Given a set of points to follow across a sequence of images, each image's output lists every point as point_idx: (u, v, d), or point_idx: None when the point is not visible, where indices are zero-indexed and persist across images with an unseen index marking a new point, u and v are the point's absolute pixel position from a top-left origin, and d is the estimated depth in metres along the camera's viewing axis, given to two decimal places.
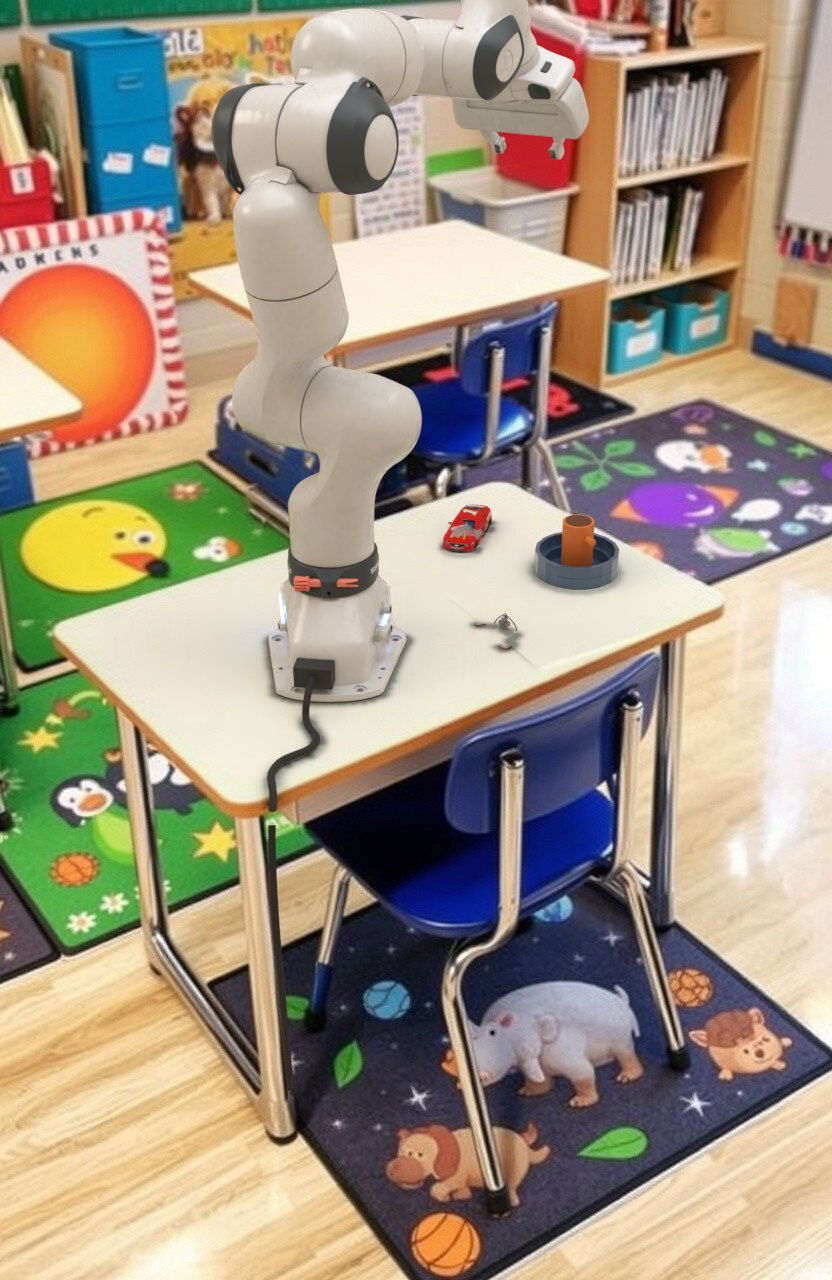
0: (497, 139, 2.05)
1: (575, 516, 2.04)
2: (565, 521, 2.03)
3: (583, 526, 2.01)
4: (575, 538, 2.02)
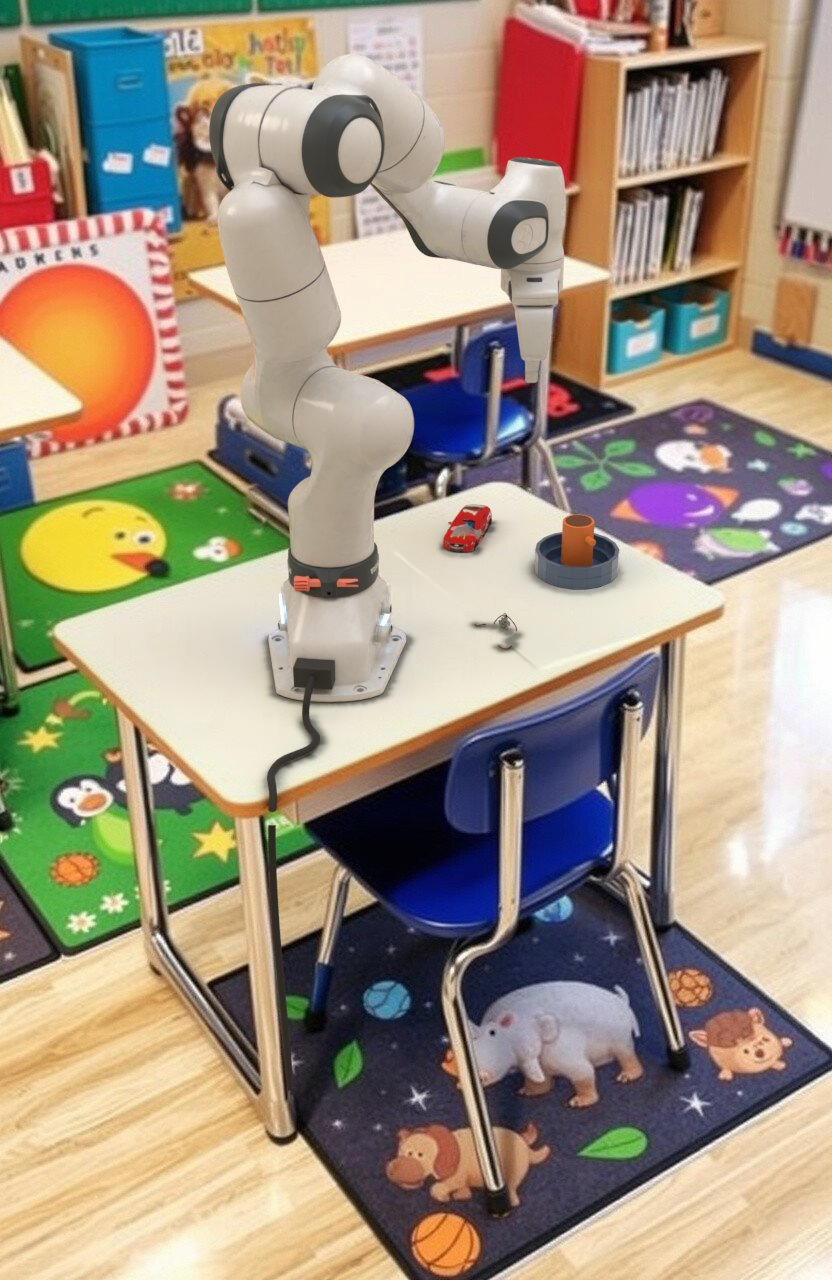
0: None
1: (575, 516, 2.04)
2: (565, 521, 2.03)
3: (583, 526, 2.01)
4: (575, 538, 2.02)
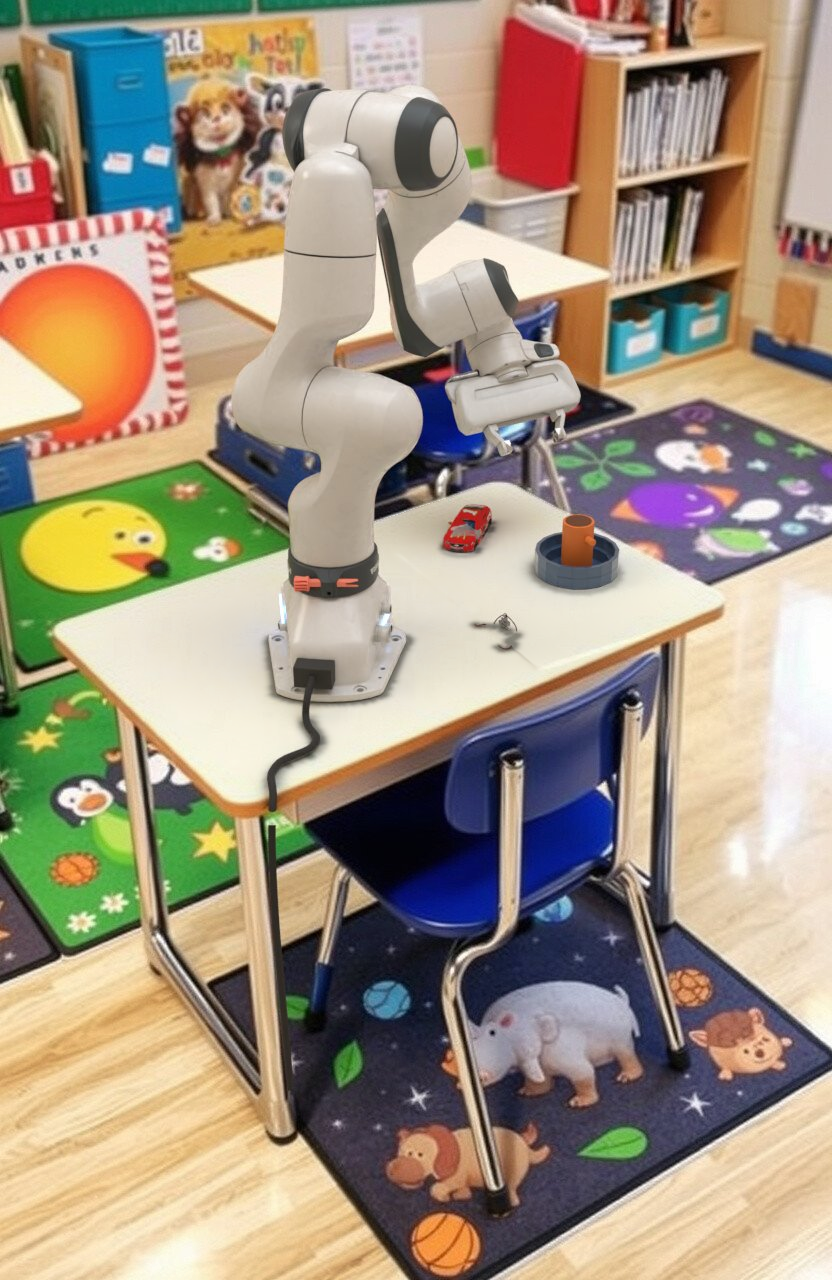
0: None
1: (575, 516, 2.04)
2: (565, 521, 2.03)
3: (583, 526, 2.01)
4: (575, 538, 2.02)
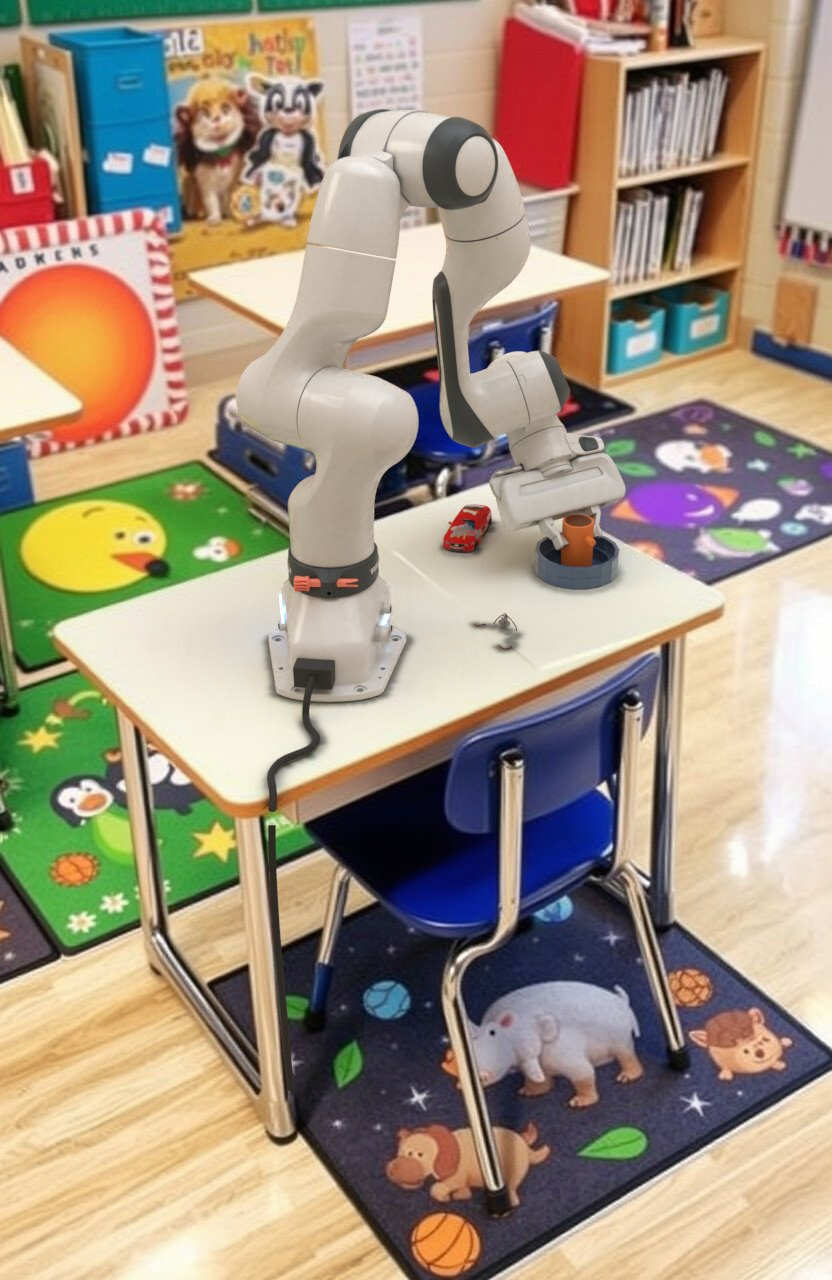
0: None
1: (575, 516, 2.04)
2: (565, 521, 2.03)
3: (583, 526, 2.01)
4: (575, 538, 2.02)
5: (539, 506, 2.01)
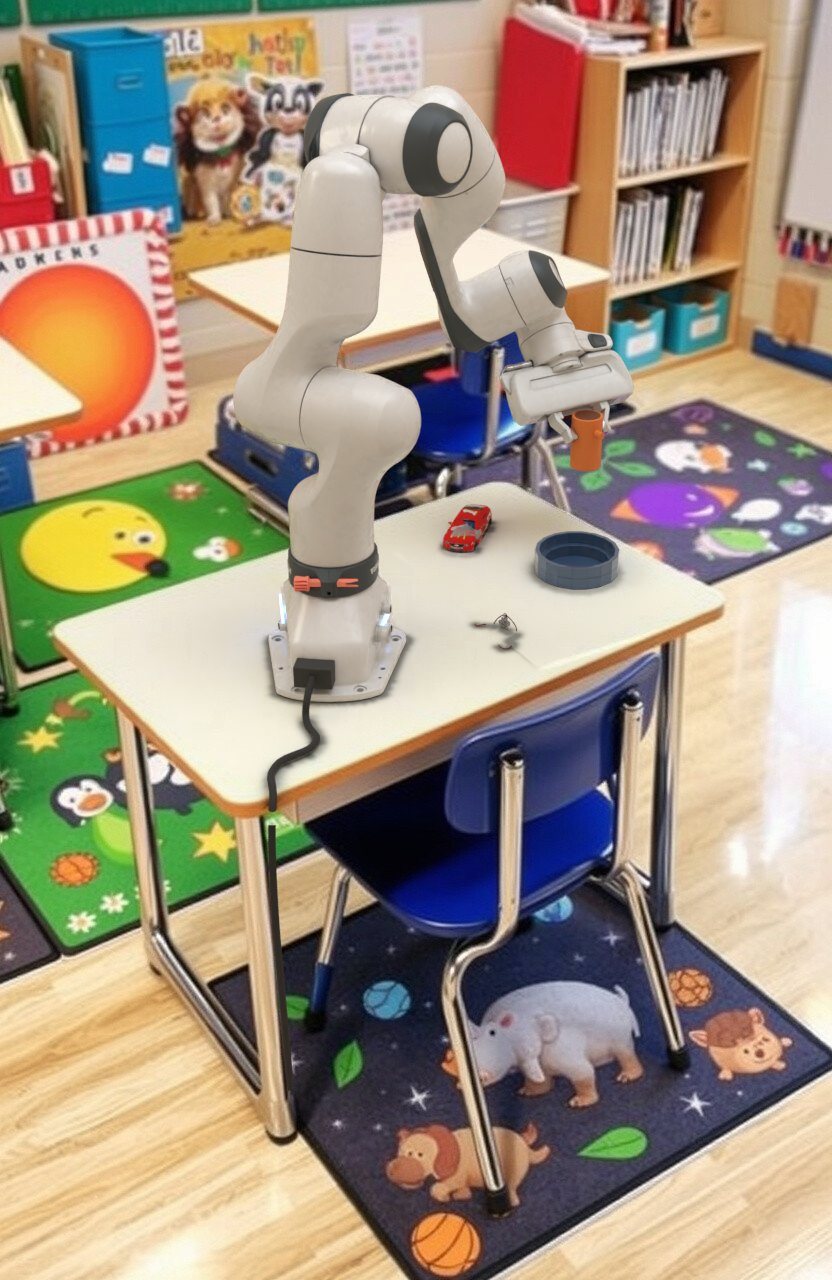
0: None
1: (584, 411, 2.07)
2: (574, 415, 2.05)
3: (592, 420, 2.04)
4: (585, 432, 2.05)
5: (549, 400, 2.04)
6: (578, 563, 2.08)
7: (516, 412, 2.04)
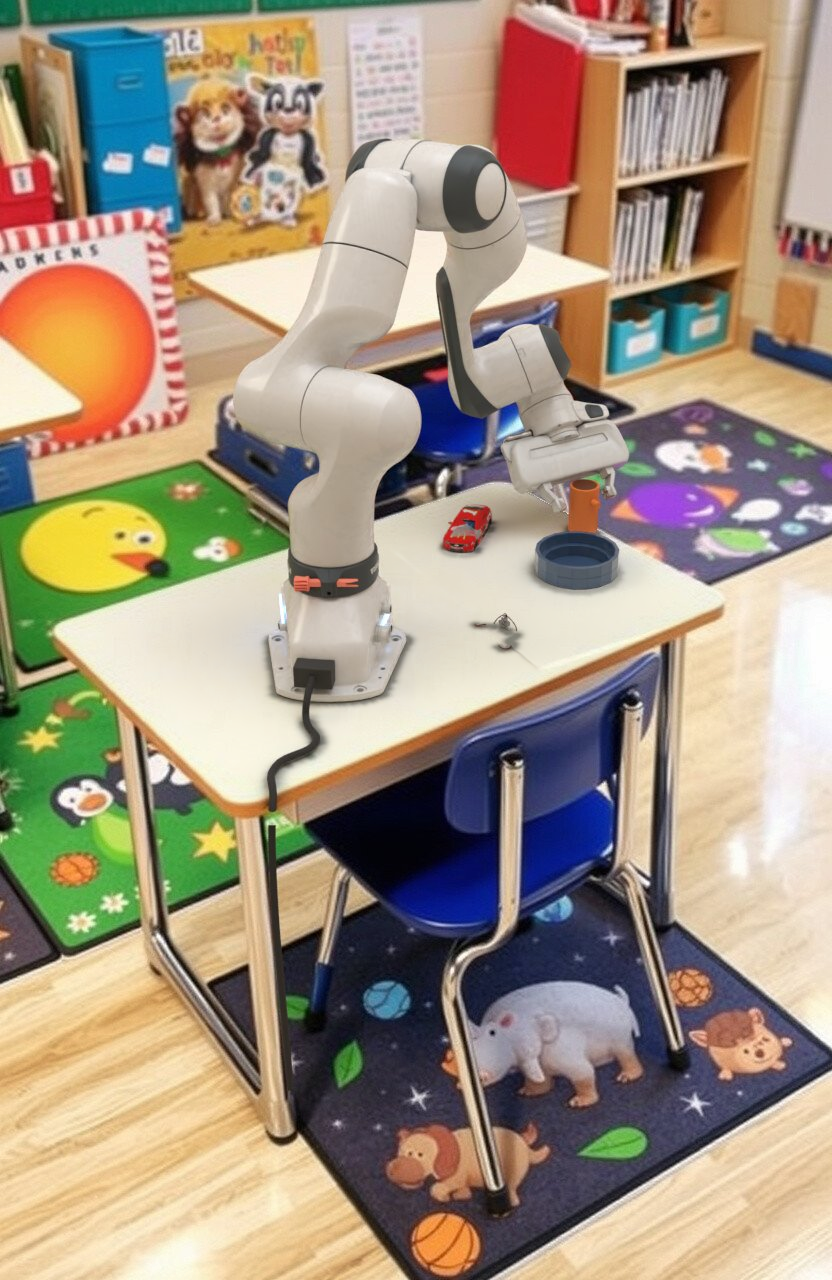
0: None
1: (581, 480, 2.16)
2: (572, 485, 2.15)
3: (589, 489, 2.13)
4: (582, 501, 2.14)
5: (547, 469, 2.13)
6: (578, 563, 2.08)
7: (516, 480, 2.13)
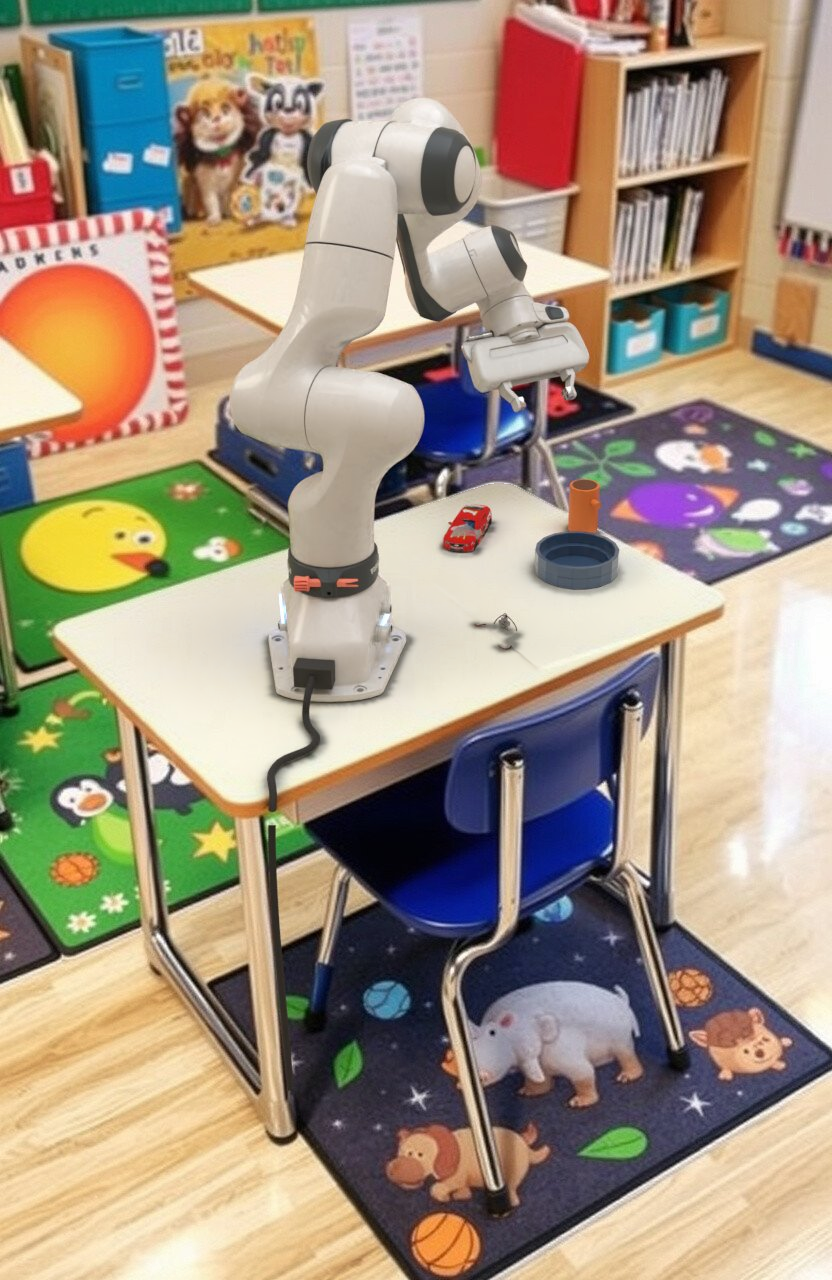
0: None
1: (581, 480, 2.16)
2: (572, 485, 2.15)
3: (589, 489, 2.13)
4: (582, 501, 2.14)
5: (507, 368, 2.16)
6: (578, 563, 2.08)
7: (476, 379, 2.16)
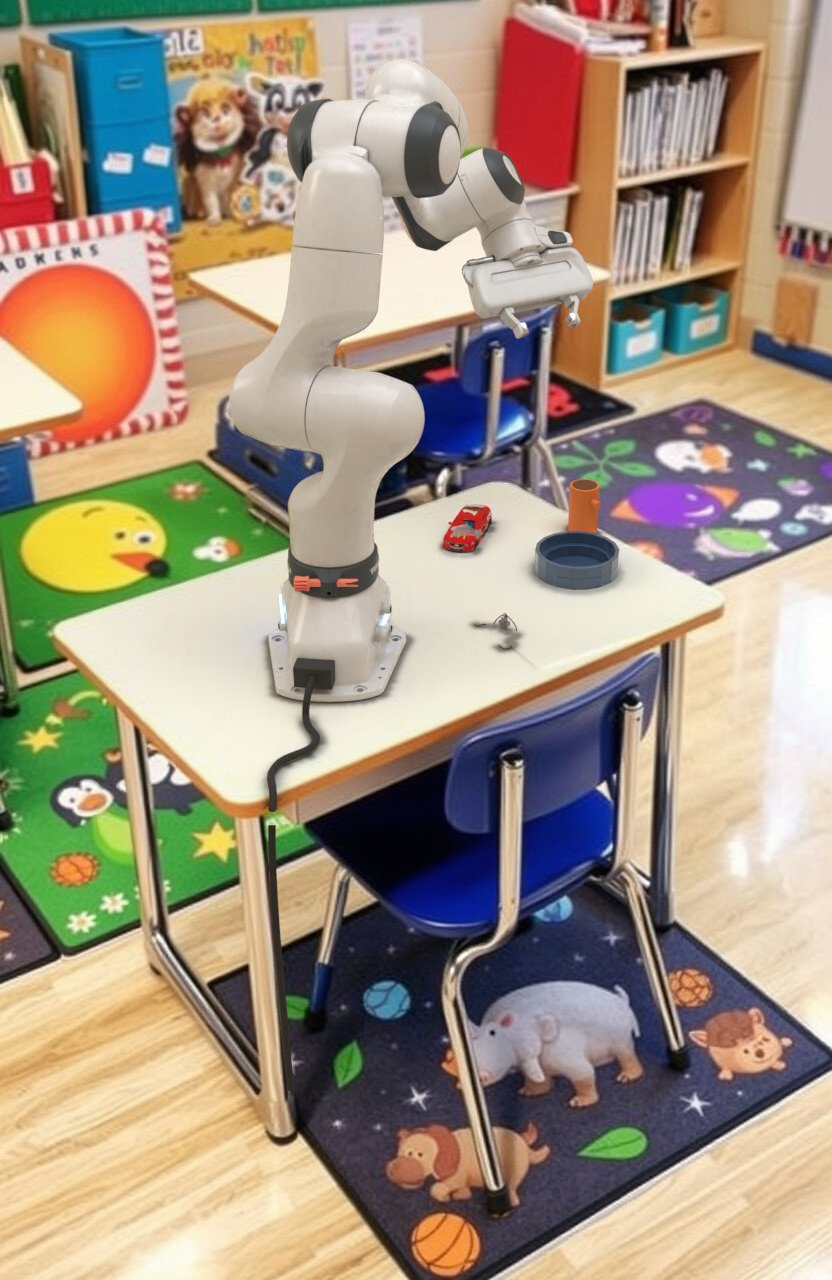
0: None
1: (581, 480, 2.16)
2: (572, 485, 2.15)
3: (589, 489, 2.13)
4: (582, 501, 2.14)
5: (509, 293, 2.10)
6: (578, 563, 2.08)
7: (477, 304, 2.09)
